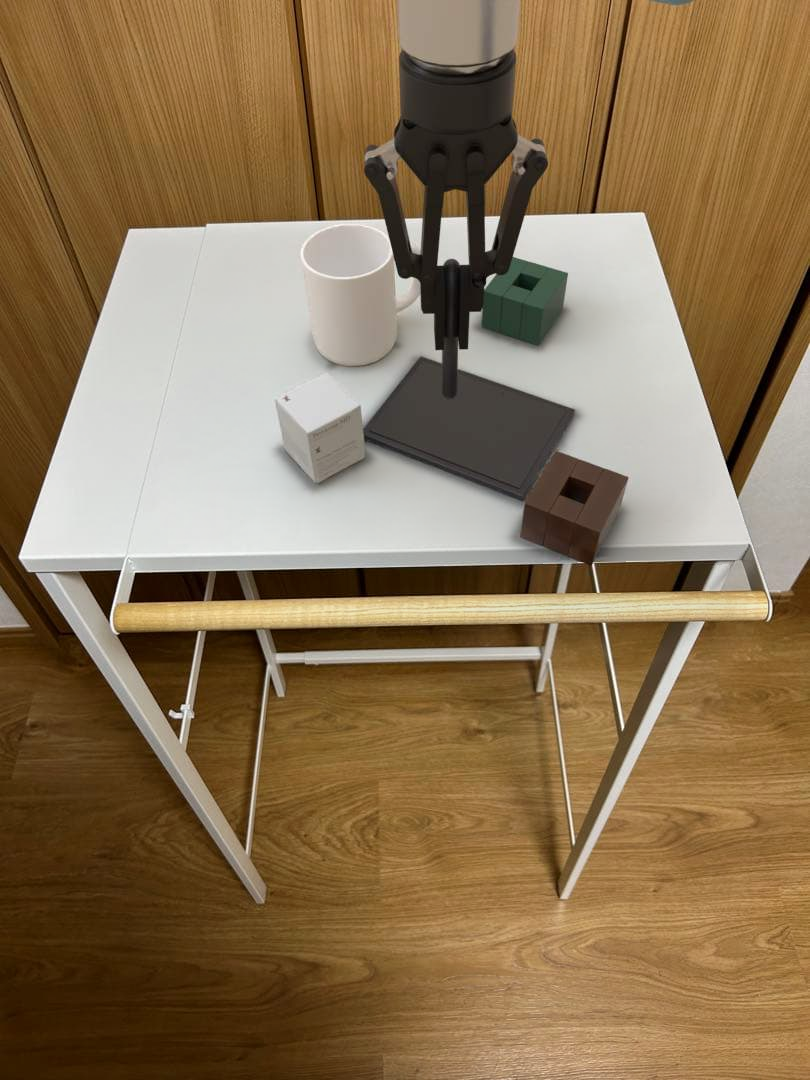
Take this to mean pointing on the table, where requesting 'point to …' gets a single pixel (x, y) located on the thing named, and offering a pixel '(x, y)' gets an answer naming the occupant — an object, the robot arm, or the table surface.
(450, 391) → the stylus
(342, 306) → the cup
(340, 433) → the product box
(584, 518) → the holder
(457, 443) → the tablet
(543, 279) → the stand
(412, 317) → the table surface
